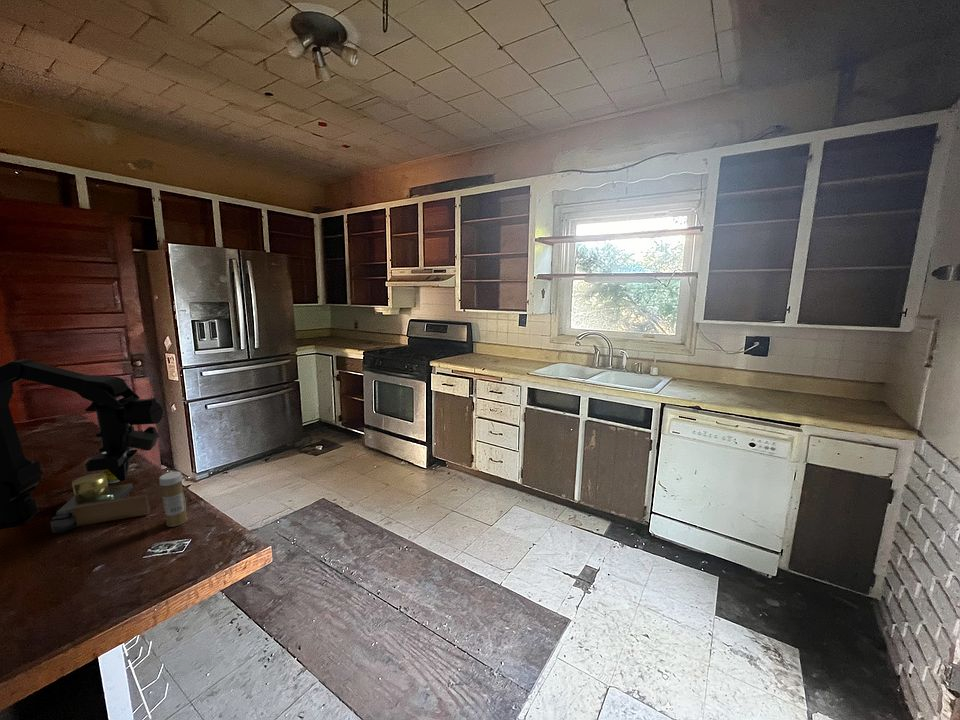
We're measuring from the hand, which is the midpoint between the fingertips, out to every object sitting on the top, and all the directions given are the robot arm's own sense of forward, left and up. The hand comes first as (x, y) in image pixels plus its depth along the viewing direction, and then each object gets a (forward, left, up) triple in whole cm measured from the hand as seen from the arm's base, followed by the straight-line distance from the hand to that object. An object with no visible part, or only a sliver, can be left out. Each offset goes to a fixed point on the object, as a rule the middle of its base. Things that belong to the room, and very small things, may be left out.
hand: (123, 480), depth 107 cm
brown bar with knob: (-4, -5, -8) cm, 10 cm away
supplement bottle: (-11, +22, -9) cm, 27 cm away
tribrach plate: (-10, +8, -9) cm, 16 cm away
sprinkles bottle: (+14, -12, -9) cm, 20 cm away
